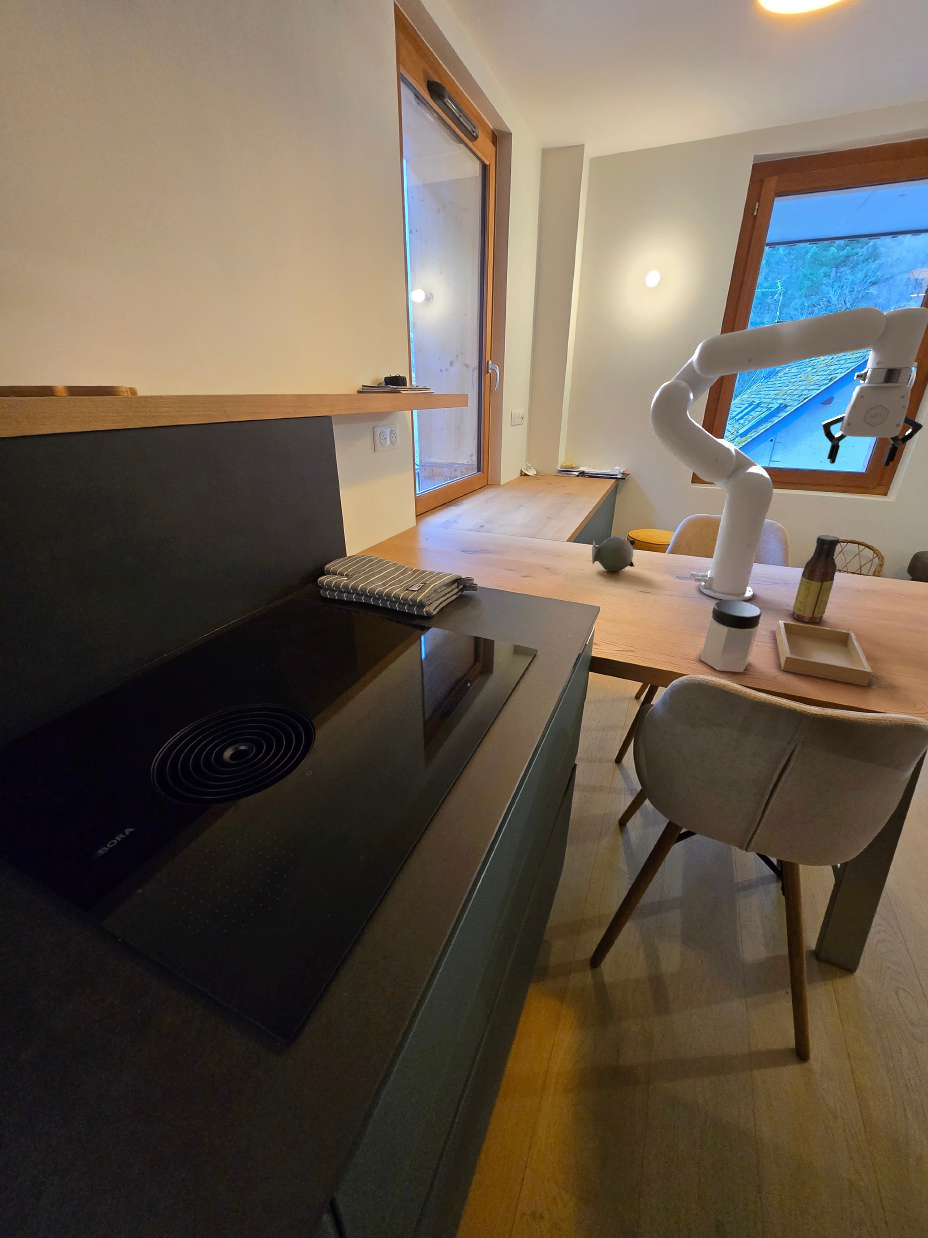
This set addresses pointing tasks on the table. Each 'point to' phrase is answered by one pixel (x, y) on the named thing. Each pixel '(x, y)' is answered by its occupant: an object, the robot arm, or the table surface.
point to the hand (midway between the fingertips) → (857, 464)
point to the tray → (822, 653)
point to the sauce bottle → (816, 581)
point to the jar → (731, 635)
